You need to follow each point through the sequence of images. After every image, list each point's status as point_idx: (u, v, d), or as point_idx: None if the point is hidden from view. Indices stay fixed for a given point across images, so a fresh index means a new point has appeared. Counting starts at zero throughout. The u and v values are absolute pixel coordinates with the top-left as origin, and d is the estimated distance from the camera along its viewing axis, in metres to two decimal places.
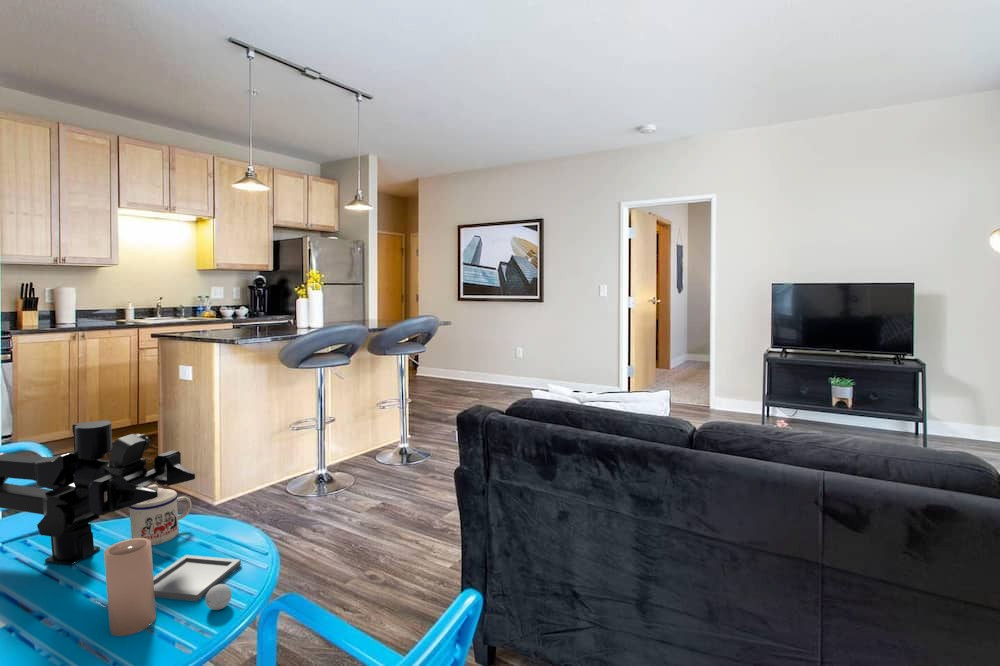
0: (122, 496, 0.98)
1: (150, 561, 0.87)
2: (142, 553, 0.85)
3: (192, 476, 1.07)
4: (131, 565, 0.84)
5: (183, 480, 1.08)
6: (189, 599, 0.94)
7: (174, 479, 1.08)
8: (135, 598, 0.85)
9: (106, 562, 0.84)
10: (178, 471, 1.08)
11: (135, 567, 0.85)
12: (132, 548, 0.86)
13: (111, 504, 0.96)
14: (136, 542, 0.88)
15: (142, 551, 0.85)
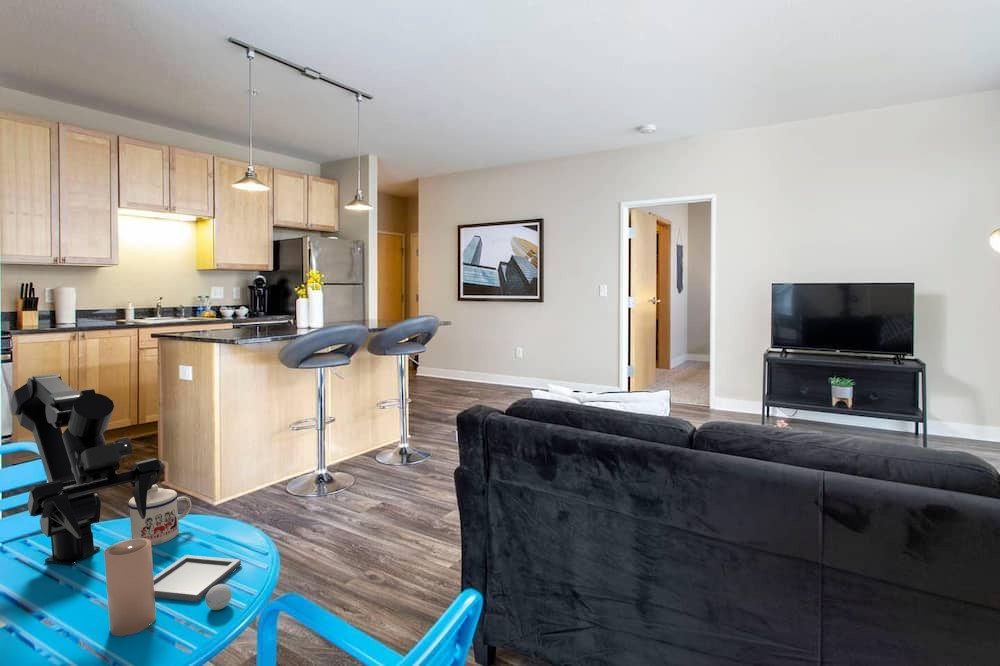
0: None
1: (150, 561, 0.87)
2: (142, 553, 0.85)
3: (142, 516, 0.95)
4: (131, 565, 0.84)
5: (138, 508, 0.96)
6: (189, 599, 0.94)
7: (135, 497, 0.98)
8: (135, 598, 0.85)
9: (106, 562, 0.84)
10: (138, 497, 0.96)
11: (135, 567, 0.85)
12: (132, 548, 0.86)
13: (44, 513, 0.89)
14: (136, 542, 0.88)
15: (142, 551, 0.85)
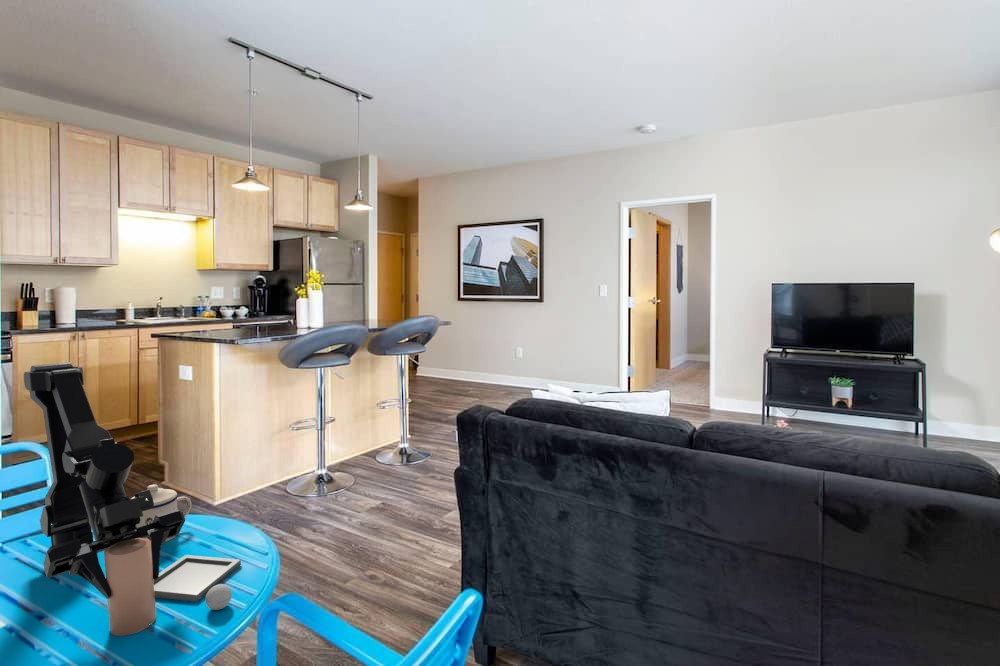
0: None
1: (150, 561, 0.87)
2: (142, 553, 0.85)
3: (154, 578, 0.88)
4: (131, 565, 0.84)
5: None
6: (189, 599, 0.94)
7: None
8: (135, 598, 0.85)
9: (106, 562, 0.84)
10: None
11: (135, 567, 0.84)
12: (132, 548, 0.86)
13: (72, 571, 0.84)
14: (136, 542, 0.88)
15: (142, 551, 0.85)
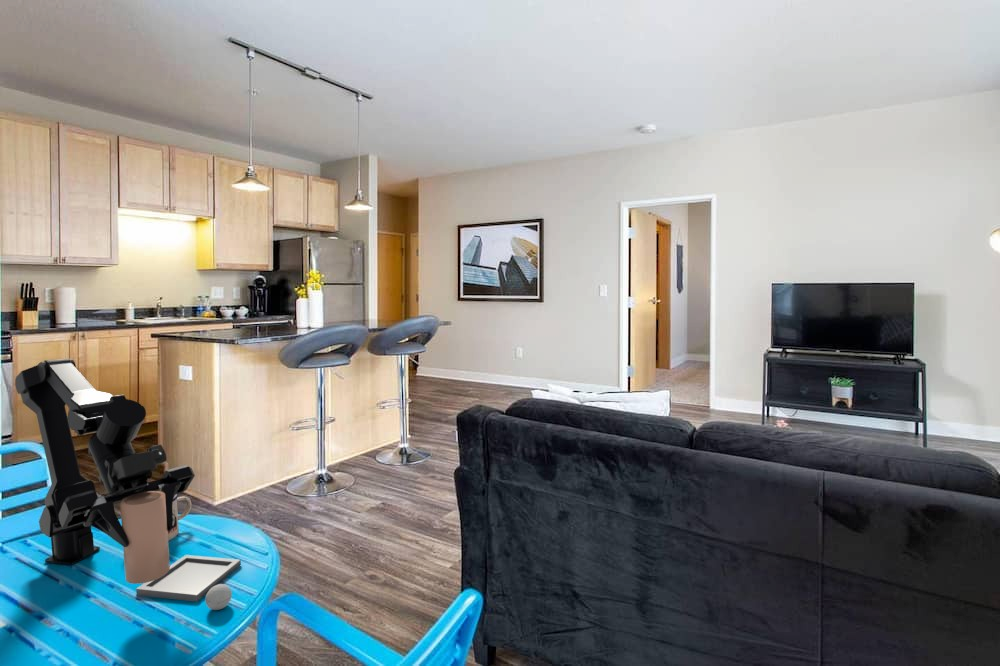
0: (103, 517, 0.87)
1: (165, 512, 0.90)
2: (158, 503, 0.88)
3: (168, 528, 0.91)
4: (148, 514, 0.87)
5: None
6: (189, 599, 0.94)
7: None
8: (152, 547, 0.87)
9: (123, 512, 0.86)
10: None
11: (152, 516, 0.87)
12: (148, 499, 0.88)
13: (87, 522, 0.86)
14: (150, 494, 0.90)
15: (158, 501, 0.88)
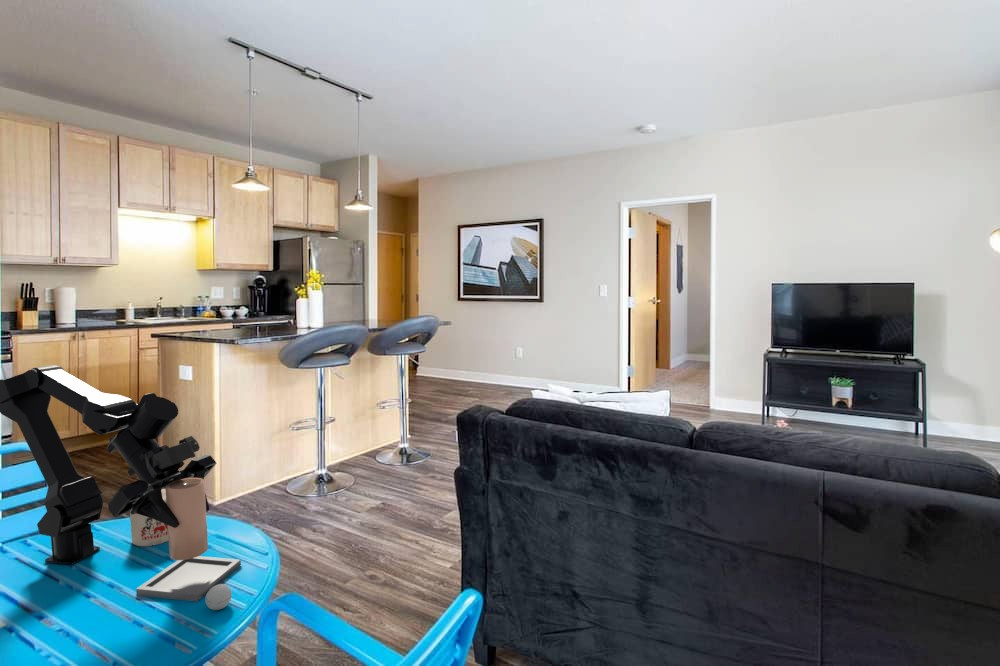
0: (149, 504, 0.96)
1: None
2: (202, 486, 0.99)
3: None
4: (196, 496, 0.97)
5: None
6: (189, 599, 0.94)
7: None
8: (199, 525, 0.98)
9: (172, 496, 0.96)
10: None
11: (199, 498, 0.98)
12: (191, 483, 0.98)
13: (136, 509, 0.94)
14: (188, 480, 1.00)
15: (202, 484, 0.99)
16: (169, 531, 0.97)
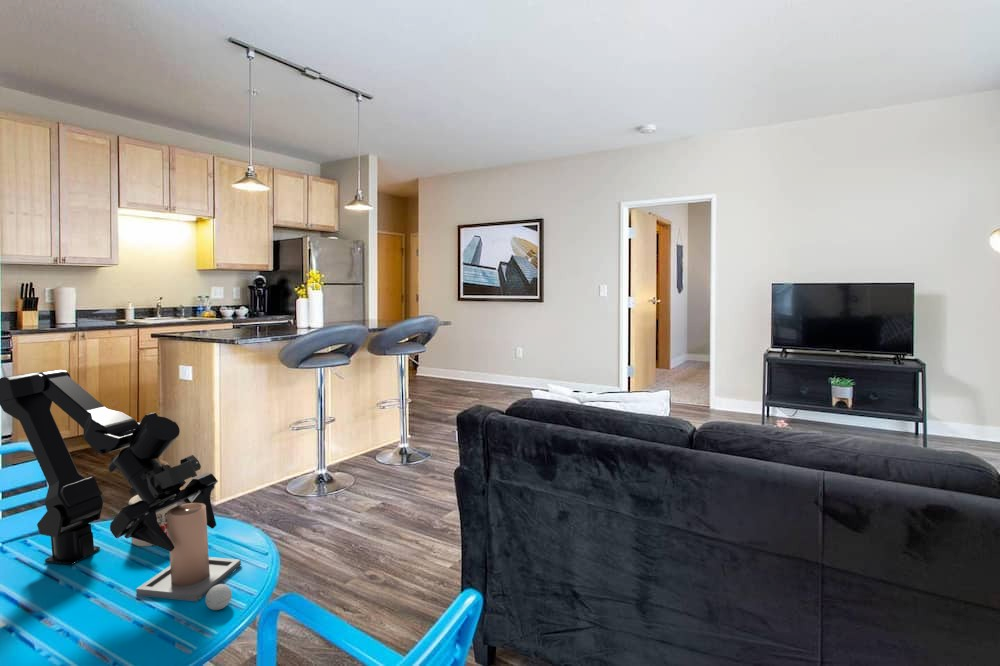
0: (143, 527, 0.95)
1: (206, 519, 1.01)
2: (203, 512, 0.99)
3: (212, 526, 1.03)
4: (197, 522, 0.98)
5: None
6: (189, 599, 0.94)
7: None
8: (200, 551, 0.98)
9: (174, 522, 0.96)
10: None
11: (200, 523, 0.98)
12: (192, 509, 0.99)
13: (130, 533, 0.93)
14: (189, 506, 1.01)
15: (204, 510, 0.99)
16: (171, 557, 0.97)
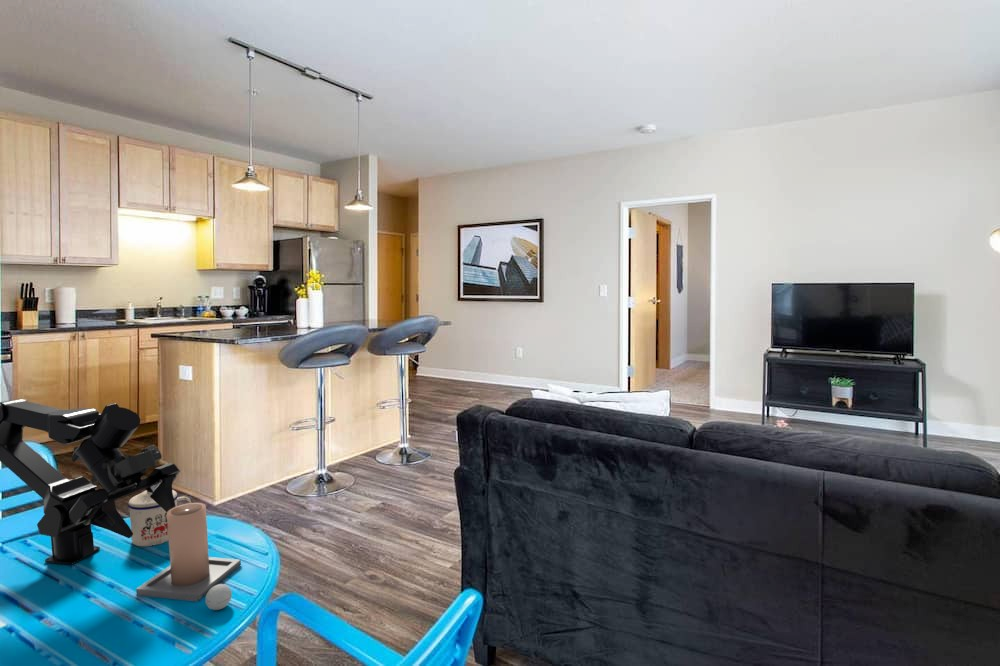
0: (103, 515, 0.97)
1: (206, 519, 1.01)
2: (204, 512, 0.99)
3: None
4: (197, 522, 0.98)
5: (164, 509, 1.07)
6: (189, 599, 0.94)
7: (158, 499, 1.07)
8: (200, 551, 0.98)
9: (174, 523, 0.96)
10: (166, 498, 1.07)
11: (200, 524, 0.98)
12: (192, 509, 0.99)
13: (89, 520, 0.96)
14: (189, 506, 1.01)
15: (204, 510, 0.99)
16: (171, 557, 0.97)
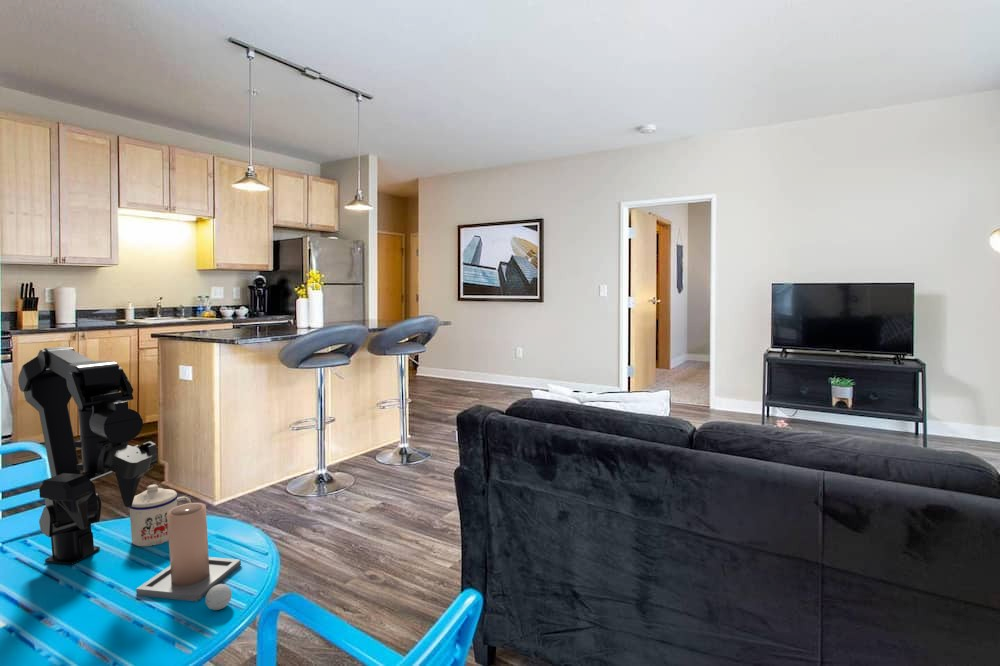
0: None
1: (206, 519, 1.01)
2: (204, 512, 0.99)
3: (127, 505, 1.01)
4: (197, 522, 0.98)
5: (122, 493, 1.02)
6: (189, 599, 0.94)
7: (121, 480, 1.02)
8: (200, 551, 0.98)
9: (174, 522, 0.96)
10: (130, 487, 1.01)
11: (200, 523, 0.98)
12: (192, 509, 0.99)
13: (55, 499, 0.89)
14: (189, 506, 1.01)
15: (204, 510, 0.99)
16: (171, 557, 0.97)
